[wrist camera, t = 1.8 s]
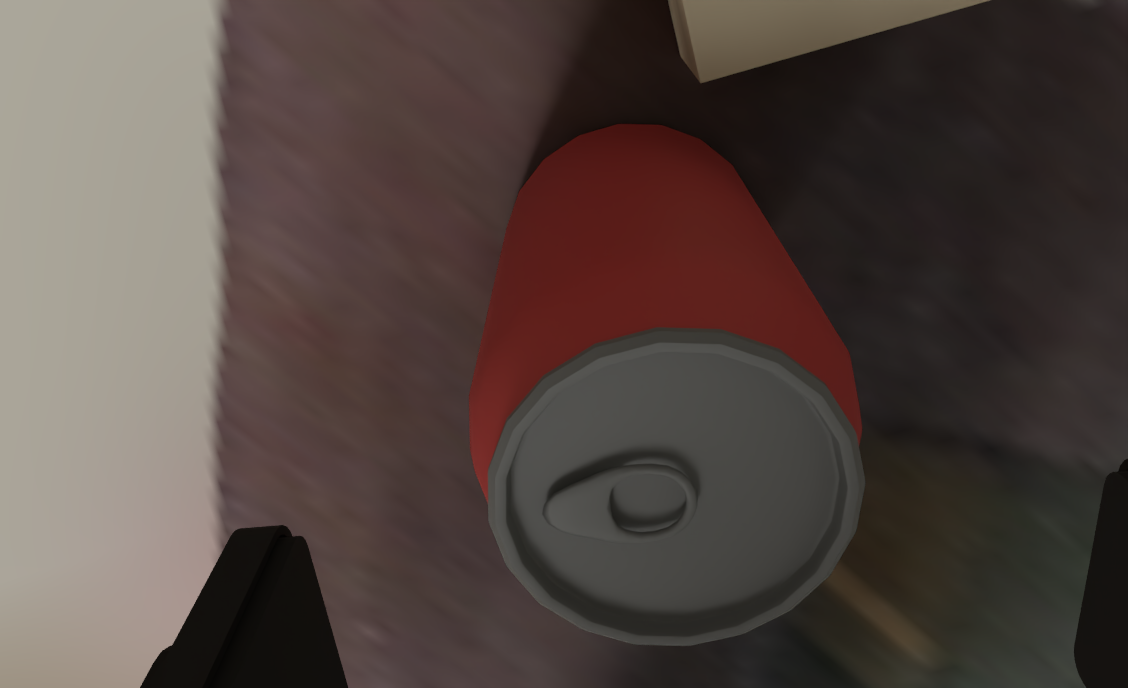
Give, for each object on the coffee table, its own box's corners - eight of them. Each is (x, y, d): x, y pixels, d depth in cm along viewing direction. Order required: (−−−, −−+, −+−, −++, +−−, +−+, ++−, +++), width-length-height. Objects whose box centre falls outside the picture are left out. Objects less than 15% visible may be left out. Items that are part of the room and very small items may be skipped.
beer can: (487, 135, 23) (409, 328, 12) (750, 100, 23) (909, 269, 12) (526, 367, 26) (490, 693, 15) (761, 341, 26) (898, 656, 15)
